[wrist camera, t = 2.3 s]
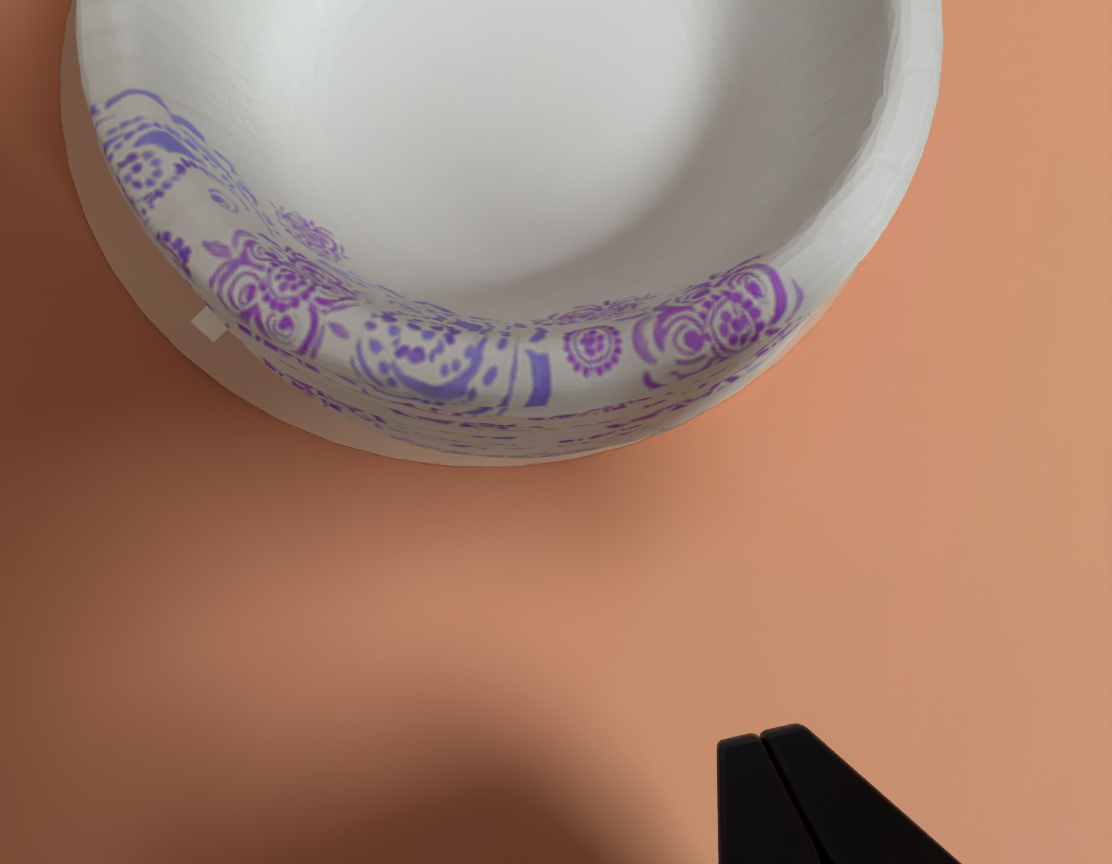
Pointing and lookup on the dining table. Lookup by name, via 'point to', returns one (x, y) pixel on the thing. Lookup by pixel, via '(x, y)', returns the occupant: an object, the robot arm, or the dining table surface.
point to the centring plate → (200, 328)
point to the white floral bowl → (512, 192)
